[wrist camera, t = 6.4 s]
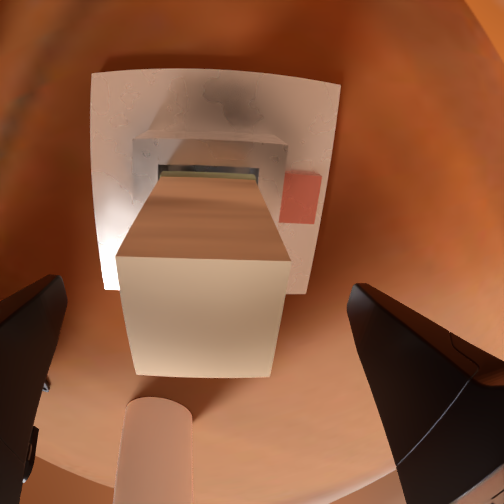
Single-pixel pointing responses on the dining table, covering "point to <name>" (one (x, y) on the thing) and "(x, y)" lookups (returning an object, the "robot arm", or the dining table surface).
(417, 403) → the robot arm
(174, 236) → the post
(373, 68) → the dining table surface
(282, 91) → the sleeve stand
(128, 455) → the cylindrical container
